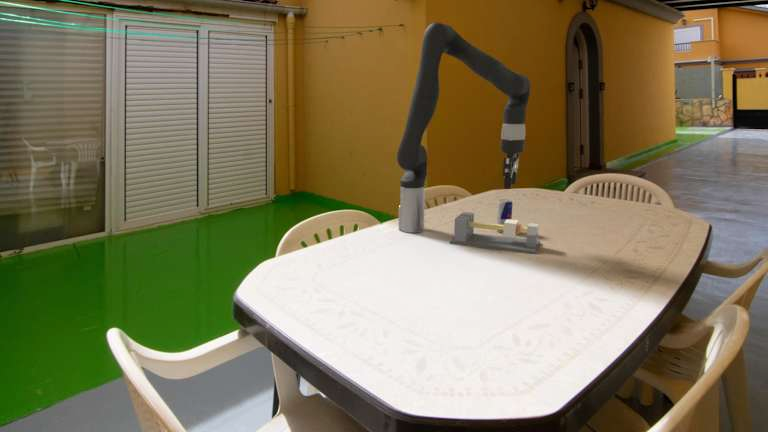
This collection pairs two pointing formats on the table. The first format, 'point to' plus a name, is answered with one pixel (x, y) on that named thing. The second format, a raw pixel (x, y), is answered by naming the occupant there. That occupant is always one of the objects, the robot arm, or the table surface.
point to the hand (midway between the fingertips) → (509, 186)
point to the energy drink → (504, 212)
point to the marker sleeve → (510, 228)
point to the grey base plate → (498, 243)
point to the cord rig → (467, 225)
